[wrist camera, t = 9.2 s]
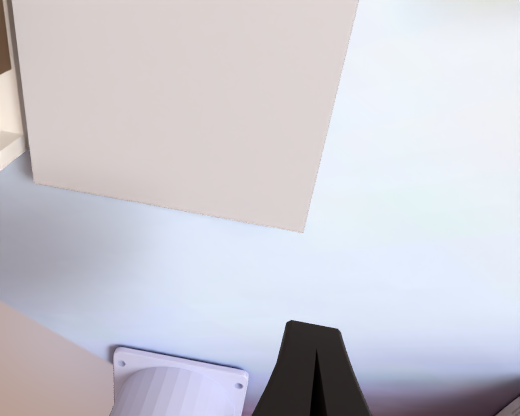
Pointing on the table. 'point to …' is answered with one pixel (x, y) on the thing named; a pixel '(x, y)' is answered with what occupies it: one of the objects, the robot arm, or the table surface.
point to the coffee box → (511, 409)
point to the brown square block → (4, 43)
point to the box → (12, 100)
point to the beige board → (184, 100)
